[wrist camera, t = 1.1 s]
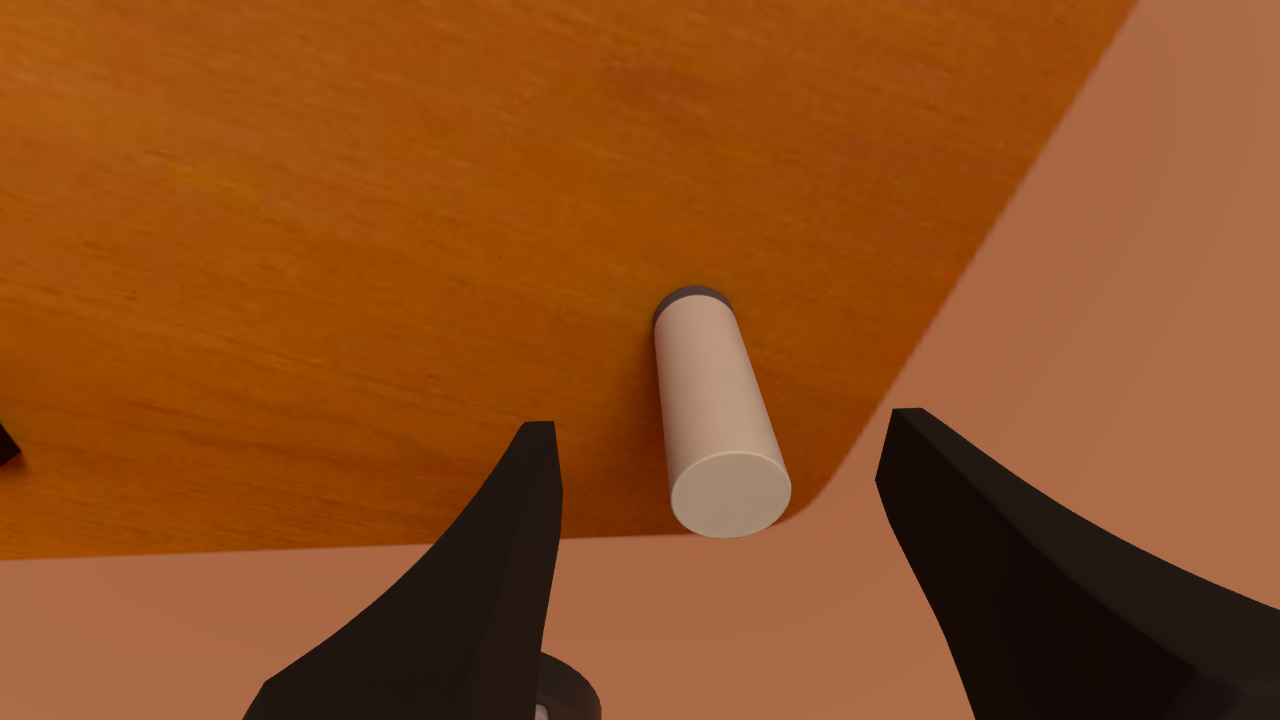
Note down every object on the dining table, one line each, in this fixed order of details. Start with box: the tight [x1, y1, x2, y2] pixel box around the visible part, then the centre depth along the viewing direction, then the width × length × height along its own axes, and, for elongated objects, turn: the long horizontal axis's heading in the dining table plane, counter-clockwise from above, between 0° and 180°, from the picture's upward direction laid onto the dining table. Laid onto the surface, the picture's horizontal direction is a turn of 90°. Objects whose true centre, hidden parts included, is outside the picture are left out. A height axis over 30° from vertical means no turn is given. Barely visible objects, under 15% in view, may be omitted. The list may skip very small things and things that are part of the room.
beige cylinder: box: [653, 286, 791, 539], centre depth 15 cm, size 2×2×7 cm
